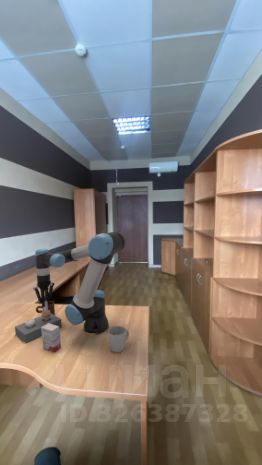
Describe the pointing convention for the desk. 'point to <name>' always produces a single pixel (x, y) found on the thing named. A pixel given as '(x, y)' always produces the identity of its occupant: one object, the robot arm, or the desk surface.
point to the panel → (35, 328)
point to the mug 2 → (117, 338)
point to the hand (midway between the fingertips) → (45, 311)
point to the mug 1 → (50, 307)
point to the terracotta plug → (46, 315)
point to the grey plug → (30, 323)
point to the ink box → (51, 337)
